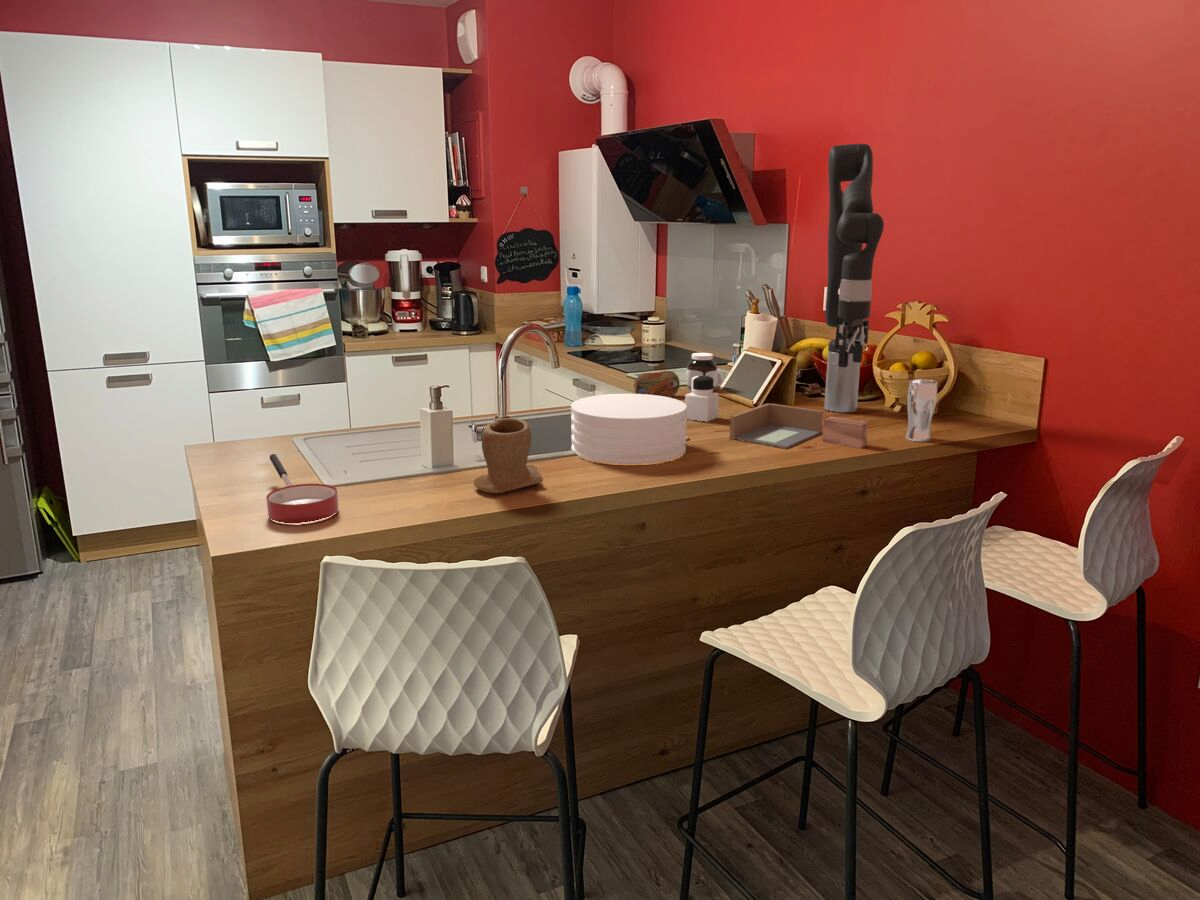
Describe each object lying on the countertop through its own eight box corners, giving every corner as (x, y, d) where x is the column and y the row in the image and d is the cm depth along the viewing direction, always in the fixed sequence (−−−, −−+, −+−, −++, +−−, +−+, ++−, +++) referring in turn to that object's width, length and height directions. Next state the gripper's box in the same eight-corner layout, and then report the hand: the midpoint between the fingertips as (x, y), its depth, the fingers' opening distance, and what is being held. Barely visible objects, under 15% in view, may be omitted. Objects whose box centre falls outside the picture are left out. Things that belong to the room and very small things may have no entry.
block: (829, 439, 231) (830, 416, 230) (866, 445, 225) (868, 422, 224) (822, 442, 228) (823, 419, 227) (860, 448, 222) (861, 425, 221)
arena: (767, 424, 246) (768, 403, 245) (821, 433, 237) (822, 411, 235) (729, 438, 231) (730, 416, 229) (786, 448, 221) (787, 425, 220)
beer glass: (928, 435, 234) (934, 379, 230) (935, 442, 227) (941, 384, 223) (901, 435, 235) (906, 378, 231) (907, 442, 228) (912, 383, 224)
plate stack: (637, 431, 239) (637, 389, 236) (709, 454, 218) (710, 407, 215) (549, 447, 223) (548, 402, 220) (617, 473, 202) (618, 424, 199)
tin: (637, 401, 276) (637, 374, 274) (632, 399, 279) (632, 372, 277) (679, 396, 282) (680, 370, 280) (674, 395, 285) (675, 368, 283)
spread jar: (685, 391, 290) (685, 355, 287) (687, 384, 301) (688, 350, 298) (722, 392, 288) (723, 356, 285) (723, 386, 299) (724, 351, 296)
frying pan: (232, 489, 191) (229, 460, 189) (293, 478, 198) (291, 450, 196) (281, 531, 166) (277, 498, 164) (349, 517, 173) (346, 485, 172)
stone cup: (494, 502, 182) (492, 430, 178) (466, 487, 191) (464, 419, 187) (557, 488, 191) (556, 420, 187) (527, 475, 200) (526, 409, 196)
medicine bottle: (718, 417, 254) (719, 375, 251) (707, 422, 248) (708, 379, 245) (695, 414, 258) (696, 373, 255) (684, 419, 252) (685, 377, 249)
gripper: (852, 295, 225) (847, 359, 229) (827, 299, 214) (823, 366, 218) (881, 296, 220) (876, 362, 224) (857, 301, 209) (852, 370, 214)
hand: (850, 364), depth 221 cm, fingers open, 8 cm apart
